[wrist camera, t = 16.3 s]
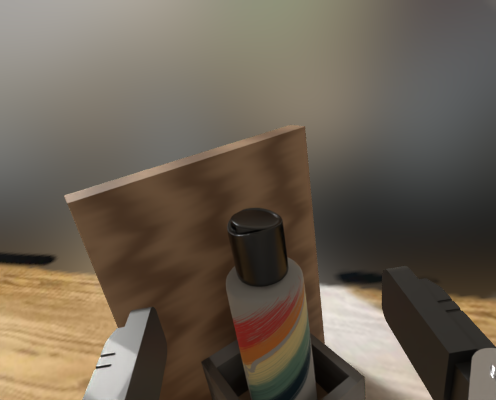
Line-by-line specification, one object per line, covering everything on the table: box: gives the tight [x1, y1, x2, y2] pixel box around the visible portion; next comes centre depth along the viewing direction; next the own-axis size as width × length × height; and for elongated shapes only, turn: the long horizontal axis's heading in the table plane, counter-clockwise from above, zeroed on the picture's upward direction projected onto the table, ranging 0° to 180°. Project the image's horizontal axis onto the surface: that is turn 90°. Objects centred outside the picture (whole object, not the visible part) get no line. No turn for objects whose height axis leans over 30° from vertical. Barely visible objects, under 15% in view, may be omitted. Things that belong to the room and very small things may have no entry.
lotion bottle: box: [226, 208, 317, 400], centre depth 26 cm, size 6×6×20 cm
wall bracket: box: [64, 125, 365, 400], centre depth 28 cm, size 20×12×28 cm, turn 124°
